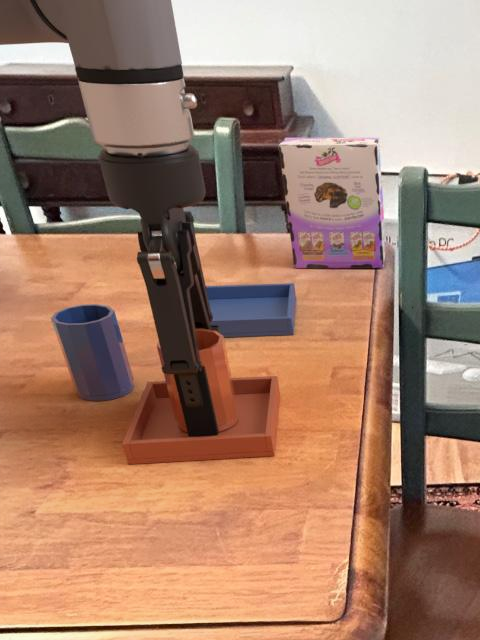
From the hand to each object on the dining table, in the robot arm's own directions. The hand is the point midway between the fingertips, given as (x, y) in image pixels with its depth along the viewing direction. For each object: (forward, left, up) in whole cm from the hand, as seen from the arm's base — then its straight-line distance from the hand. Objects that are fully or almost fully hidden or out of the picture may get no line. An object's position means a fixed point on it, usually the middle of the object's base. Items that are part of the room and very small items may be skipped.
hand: (207, 417), depth 72 cm
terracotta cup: (0, 0, 0) cm, 0 cm away
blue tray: (+1, +30, -1) cm, 30 cm away
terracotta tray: (0, 0, -1) cm, 1 cm away
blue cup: (-12, +10, -1) cm, 16 cm away
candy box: (+14, +52, -1) cm, 54 cm away
